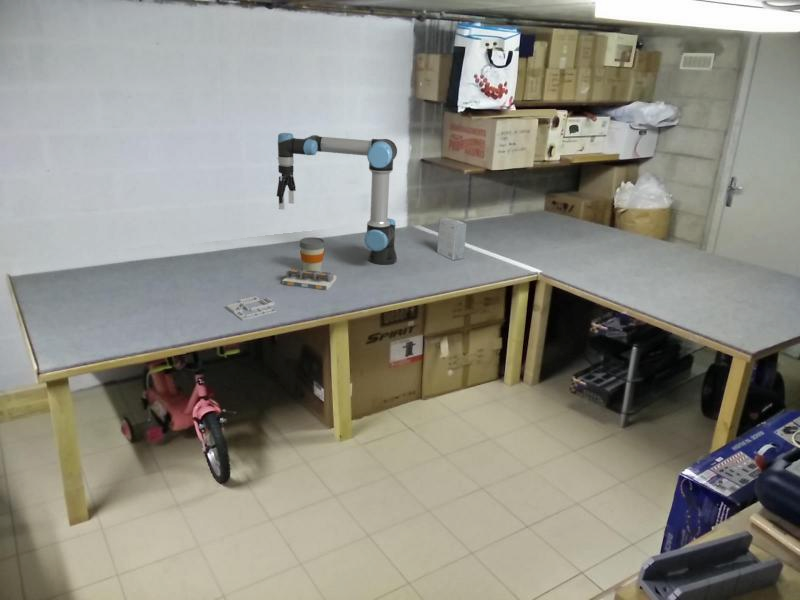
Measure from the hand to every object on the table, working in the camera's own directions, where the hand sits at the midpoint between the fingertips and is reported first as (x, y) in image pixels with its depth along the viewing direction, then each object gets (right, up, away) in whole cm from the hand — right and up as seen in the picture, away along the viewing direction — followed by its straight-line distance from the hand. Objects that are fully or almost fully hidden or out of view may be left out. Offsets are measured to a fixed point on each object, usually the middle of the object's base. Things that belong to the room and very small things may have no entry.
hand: (286, 206), depth 322 cm
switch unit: (+15, -40, -21) cm, 48 cm away
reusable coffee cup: (+14, -33, -4) cm, 36 cm away
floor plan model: (-7, -52, -51) cm, 73 cm away
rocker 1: (+9, -35, -22) cm, 42 cm away
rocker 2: (+22, -36, -24) cm, 49 cm away
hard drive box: (+87, -24, +28) cm, 94 cm away
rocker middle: (+15, -36, -23) cm, 45 cm away
